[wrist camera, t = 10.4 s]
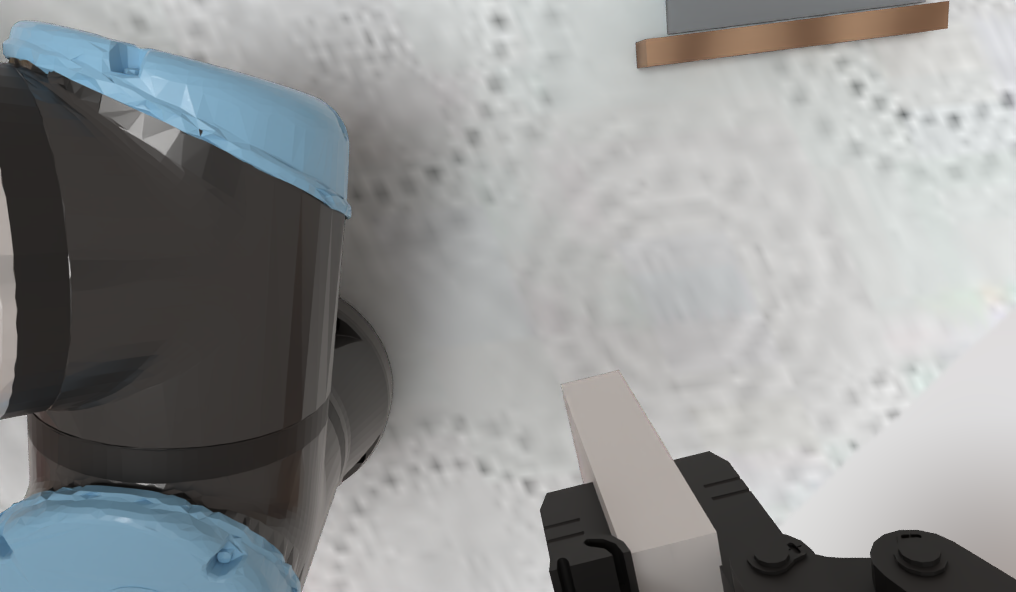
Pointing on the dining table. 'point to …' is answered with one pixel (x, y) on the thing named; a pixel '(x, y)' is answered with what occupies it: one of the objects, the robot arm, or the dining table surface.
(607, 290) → the dining table surface
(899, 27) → the rail
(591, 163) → the dining table surface
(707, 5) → the mat
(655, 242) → the dining table surface
